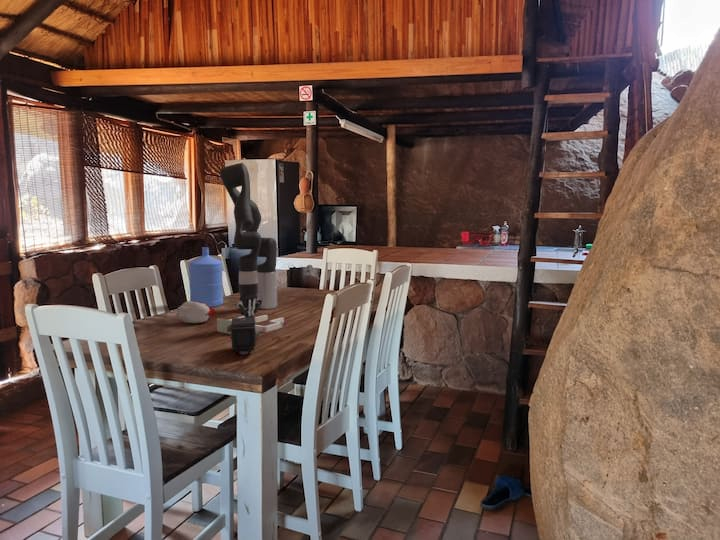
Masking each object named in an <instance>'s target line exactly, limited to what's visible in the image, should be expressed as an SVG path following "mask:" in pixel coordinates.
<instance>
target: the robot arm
mask: <svg viewBox="0 0 720 540" xmlns="http://www.w3.org/2000/svg"><path fill="white" fill-rule="evenodd" d="M219 175H220V178H221V179H220V180H221V181H222V184H223V185H224V187H225V189H226V192H227V193H228V196H229V197H230V199H231V200H232V203H233V206H234V207H233V216H234V222H235V233H234V237H233V245H234V247H235V248H236V249H237V250H240V251H243V250H250V252H249V253H248V254H245V255H241V256H239V258H238V294H239V301H238V303H235V304H234V305H235V308H236V309H237V311H238V312H239V313H240V315H241V316H245V318H247V317H254V315H255V314H257V313H258V311H259V309H261V310H268V309H275V308H276V307H278V287H277V286H276V285H277V283H276V282H277V281H276V271H277V270H276V267H277V254H278V253H277V252H278V250H277V249H278V248H277V247H278V244H277V241H276V239H275V238H273V237H262V236H261V234H260V233H259V232H258V229H259V227H260V224H261V222H262V214H261V212H260V209H259V207H258V205H257V203H256V202H254V200H252V199H251V179H250V173H249V170H248V168H247V166H246V164H244V163H243V162H240V163H239V162H238V163H235V164H231V165H227V166H223V167H222V168H220V170H219ZM238 187H241V189H240V191H239V190H238V189H237V188H238ZM259 258H265V260H264V262H263V263H260V264H258V259H259Z"/></svg>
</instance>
